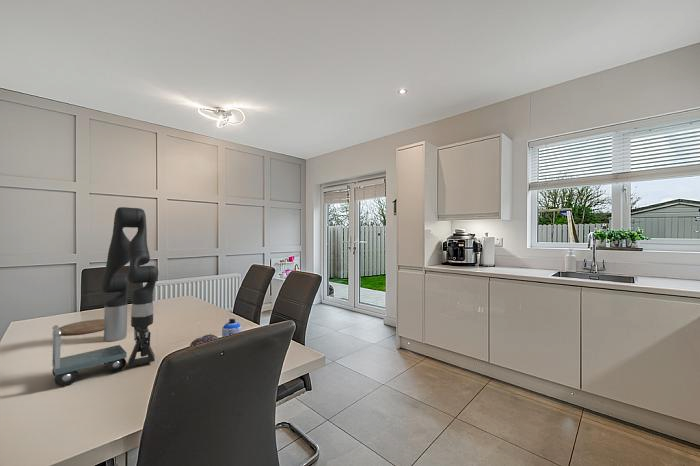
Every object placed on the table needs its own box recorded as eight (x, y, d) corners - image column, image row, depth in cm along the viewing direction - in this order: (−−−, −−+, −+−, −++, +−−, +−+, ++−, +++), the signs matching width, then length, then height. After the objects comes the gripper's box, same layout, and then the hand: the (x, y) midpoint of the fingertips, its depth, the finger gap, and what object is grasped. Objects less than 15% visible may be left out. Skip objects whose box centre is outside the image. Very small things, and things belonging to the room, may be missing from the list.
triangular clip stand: (127, 366, 116) (128, 336, 116) (128, 361, 121) (129, 332, 121) (154, 361, 121) (155, 332, 121) (154, 356, 126) (155, 328, 126)
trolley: (51, 378, 108) (52, 325, 108) (119, 361, 123) (120, 314, 124) (54, 390, 100) (55, 333, 100) (126, 370, 115) (127, 320, 116)
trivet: (122, 327, 169) (122, 323, 169) (64, 339, 148) (64, 336, 148) (106, 319, 183) (106, 316, 183) (50, 330, 162) (50, 327, 162)
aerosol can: (216, 370, 116) (217, 320, 116) (231, 362, 124) (231, 315, 124) (231, 373, 113) (232, 322, 114) (245, 365, 121) (246, 317, 121)
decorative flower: (172, 345, 117) (203, 324, 130) (173, 366, 121) (203, 344, 134) (199, 360, 112) (228, 337, 126) (200, 382, 117) (228, 357, 130)
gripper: (127, 312, 123) (126, 351, 123) (136, 319, 113) (135, 361, 113) (147, 308, 128) (147, 346, 128) (158, 315, 119) (157, 356, 119)
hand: (141, 353), depth 121 cm, fingers closed on triangular clip stand, 6 cm apart
